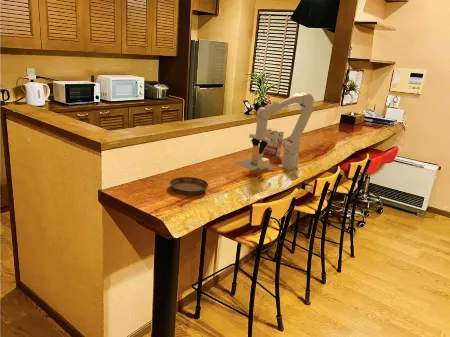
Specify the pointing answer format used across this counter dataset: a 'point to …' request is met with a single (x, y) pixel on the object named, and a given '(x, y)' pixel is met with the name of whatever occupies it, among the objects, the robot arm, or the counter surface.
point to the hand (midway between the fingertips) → (258, 152)
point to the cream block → (263, 163)
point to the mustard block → (256, 150)
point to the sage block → (256, 158)
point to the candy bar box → (274, 142)
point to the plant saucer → (188, 185)
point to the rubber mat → (252, 165)
